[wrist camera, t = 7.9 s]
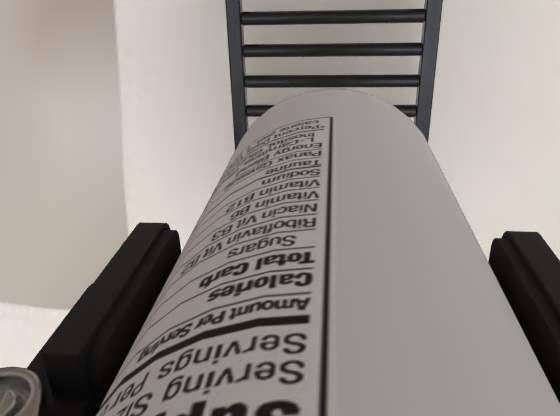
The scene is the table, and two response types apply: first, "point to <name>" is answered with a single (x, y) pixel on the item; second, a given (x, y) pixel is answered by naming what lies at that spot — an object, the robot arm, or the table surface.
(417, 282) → the energy drink can
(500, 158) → the table surface
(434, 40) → the rack
